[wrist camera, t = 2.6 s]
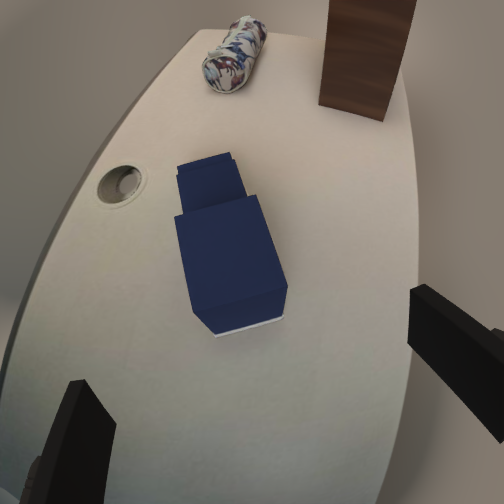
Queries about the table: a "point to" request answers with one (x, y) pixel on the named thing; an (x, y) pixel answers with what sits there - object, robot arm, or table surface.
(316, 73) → the table surface
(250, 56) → the pencil case
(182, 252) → the blue blocks on base
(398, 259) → the table surface
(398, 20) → the brown box
